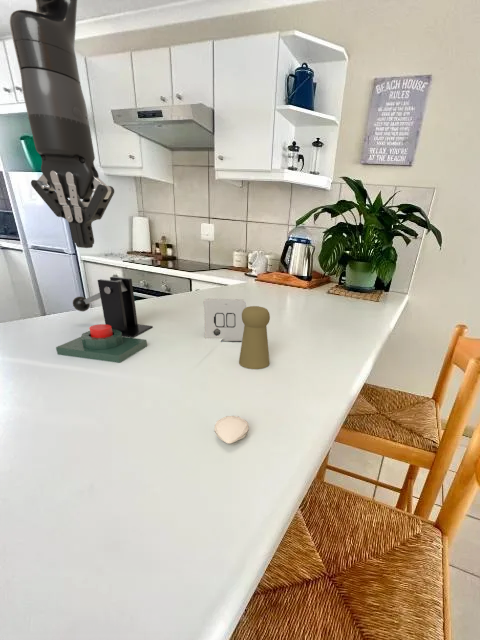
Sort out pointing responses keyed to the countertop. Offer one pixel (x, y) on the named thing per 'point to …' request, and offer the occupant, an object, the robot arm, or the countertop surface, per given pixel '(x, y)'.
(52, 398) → the countertop surface
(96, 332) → the push button
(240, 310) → the electrical switch
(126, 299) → the switch bracket
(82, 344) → the button block
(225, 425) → the seashell
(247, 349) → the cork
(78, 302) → the switch lever
